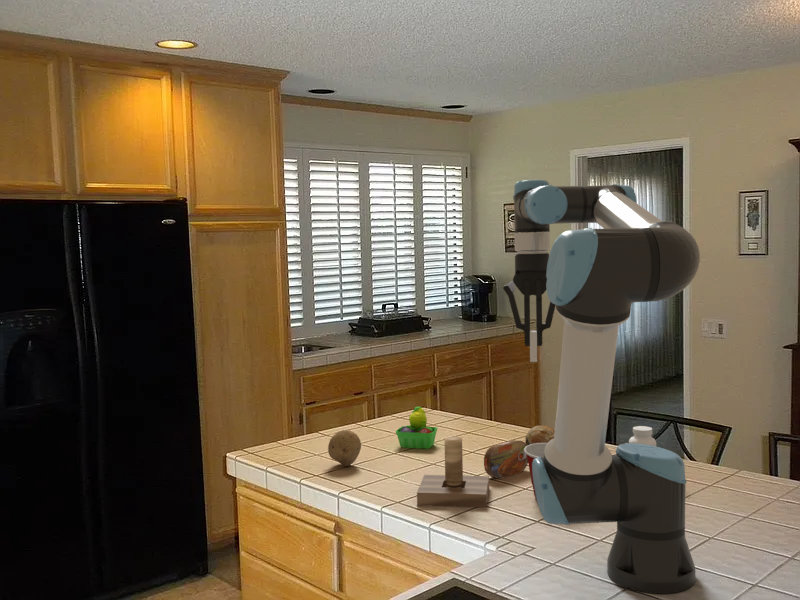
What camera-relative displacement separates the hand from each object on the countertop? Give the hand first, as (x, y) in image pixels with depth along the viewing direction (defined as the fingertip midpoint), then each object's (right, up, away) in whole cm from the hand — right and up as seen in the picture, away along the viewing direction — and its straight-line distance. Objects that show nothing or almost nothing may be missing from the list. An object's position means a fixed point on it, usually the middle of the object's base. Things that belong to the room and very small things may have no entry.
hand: (533, 360), depth 172 cm
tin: (-1, -32, +33) cm, 46 cm away
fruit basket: (-24, -31, +64) cm, 75 cm away
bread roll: (+13, -30, +60) cm, 68 cm away
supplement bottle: (+32, -32, +27) cm, 53 cm away
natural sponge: (-44, -33, +44) cm, 70 cm away
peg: (-16, -34, +16) cm, 41 cm away
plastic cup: (+6, -34, +13) cm, 36 cm away
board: (-16, -34, +16) cm, 41 cm away
